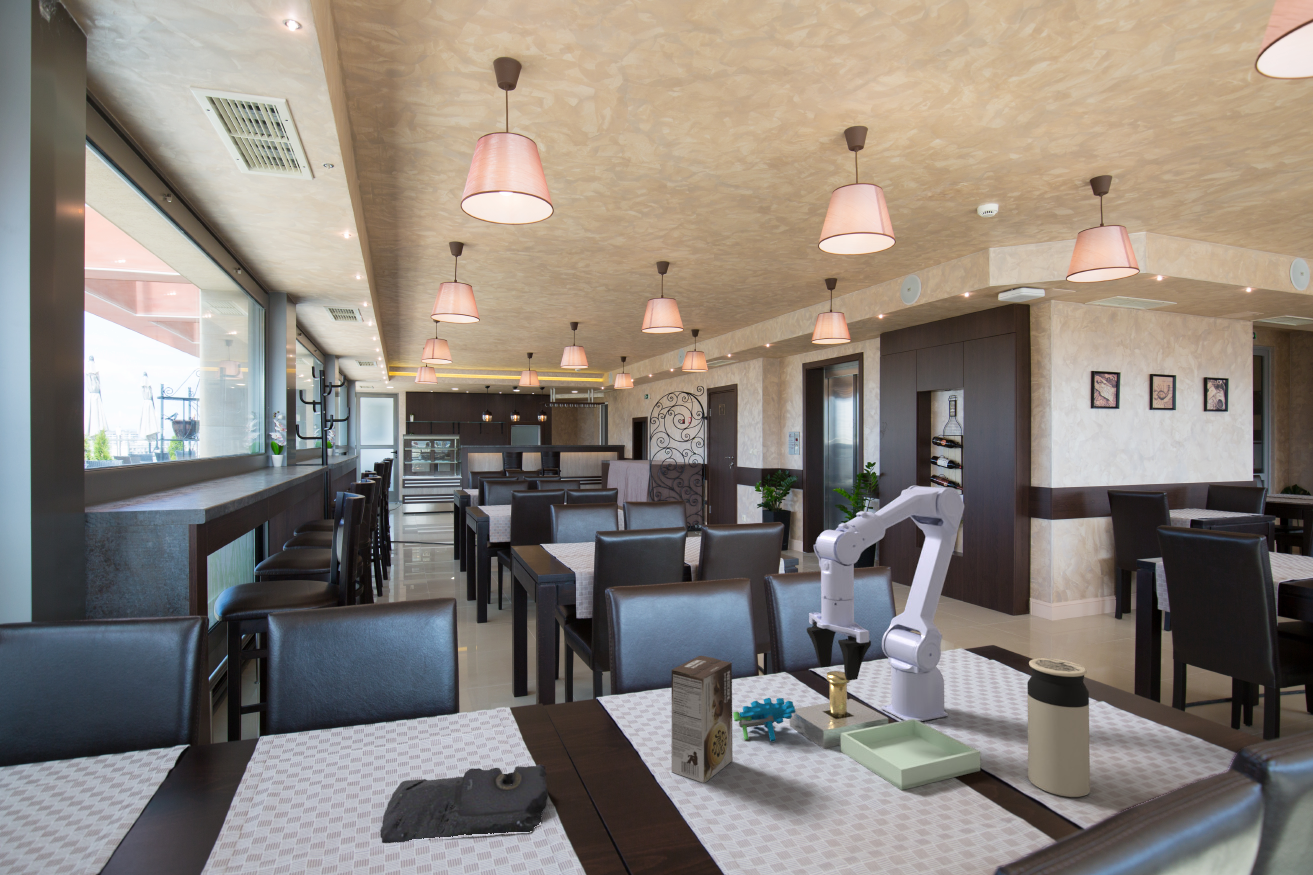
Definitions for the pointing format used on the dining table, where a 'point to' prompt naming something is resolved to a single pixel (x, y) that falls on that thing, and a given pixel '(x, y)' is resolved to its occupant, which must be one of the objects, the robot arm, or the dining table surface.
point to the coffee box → (701, 718)
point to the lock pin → (838, 694)
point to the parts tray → (910, 753)
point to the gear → (764, 715)
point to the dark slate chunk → (466, 804)
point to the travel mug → (1058, 728)
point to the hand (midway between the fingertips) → (837, 672)
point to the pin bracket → (833, 722)
